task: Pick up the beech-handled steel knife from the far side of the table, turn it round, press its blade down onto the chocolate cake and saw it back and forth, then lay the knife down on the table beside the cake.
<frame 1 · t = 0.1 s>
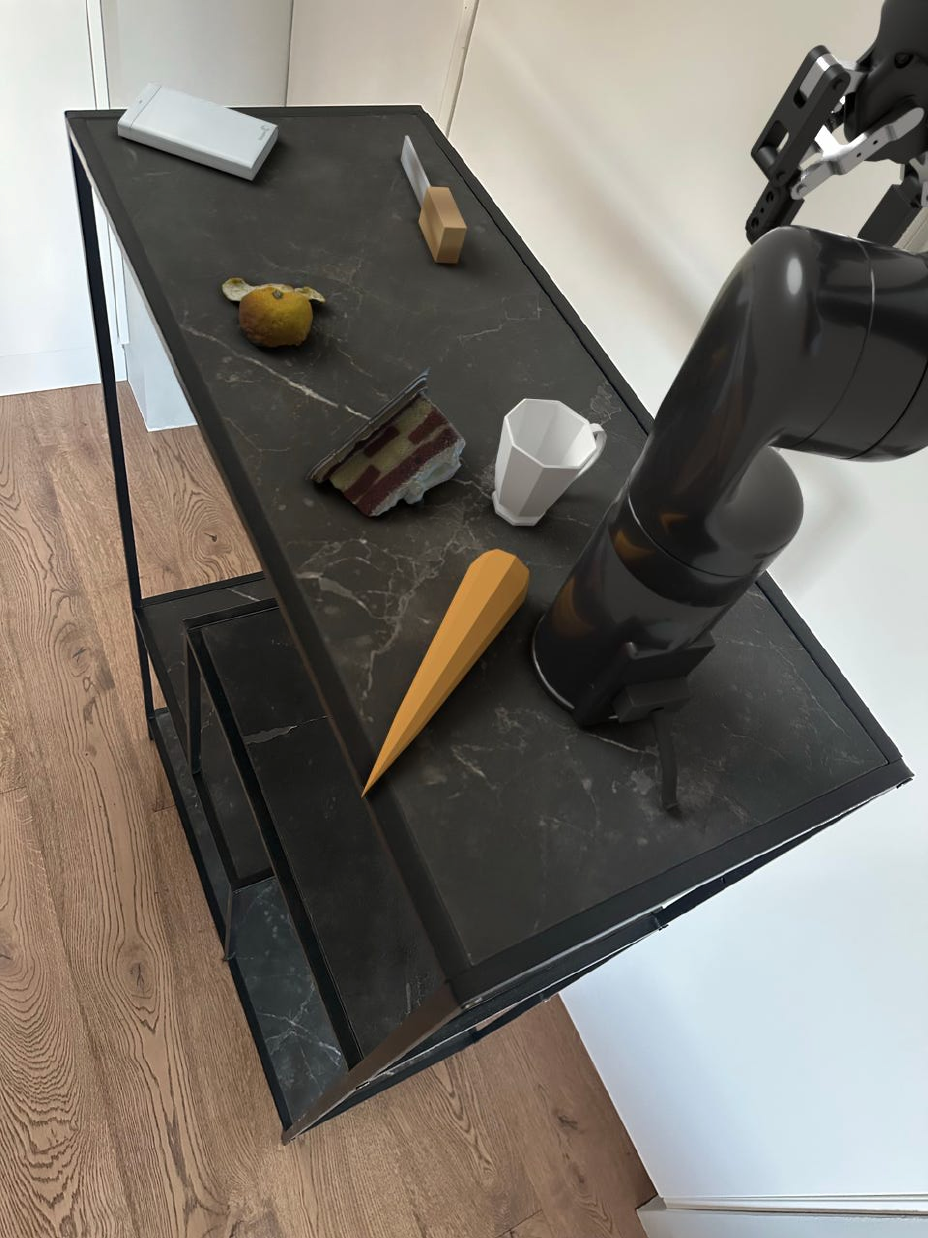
hand: (813, 248, 54), 24 cm above the table, tool pointing down, fingers open, 8 cm apart
hard drive: (267, 153, 85), point 1 cm above the table
fruit: (279, 316, 75), on the table
chocolate cake: (391, 478, 68), on the table
cup: (532, 501, 71), on the table
carrot: (426, 645, 57), point 3 cm above the table
knife: (437, 242, 85), on the table
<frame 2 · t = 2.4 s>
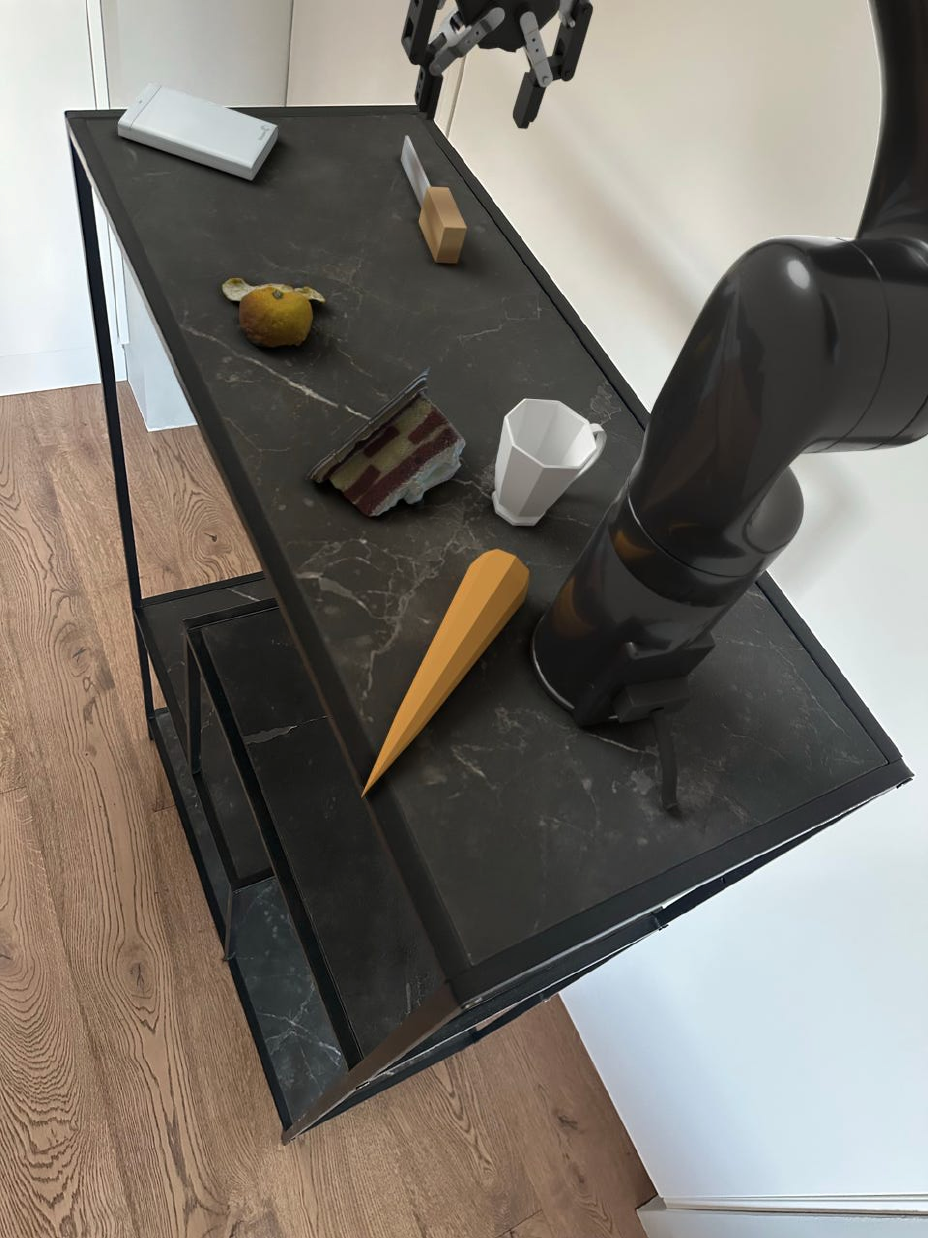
hand: (473, 119, 75), 12 cm above the table, tool pointing down, fingers open, 8 cm apart
nothing on the table moved.
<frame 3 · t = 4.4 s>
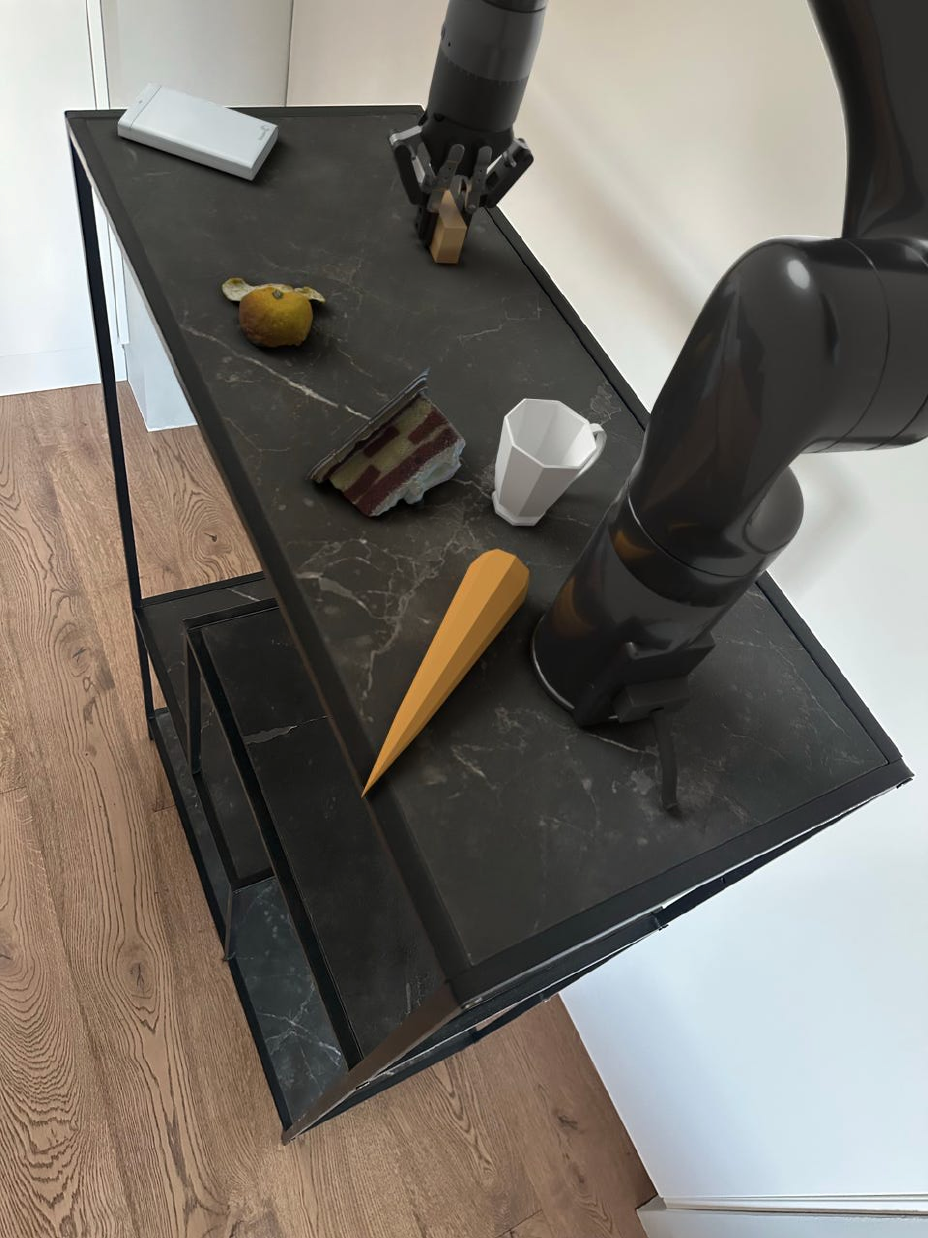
hand: (438, 240, 85), 0 cm above the table, tool pointing down, fingers closed on knife, 2 cm apart
knife: (437, 242, 85), on the table, touching gripper
everything else where it was.
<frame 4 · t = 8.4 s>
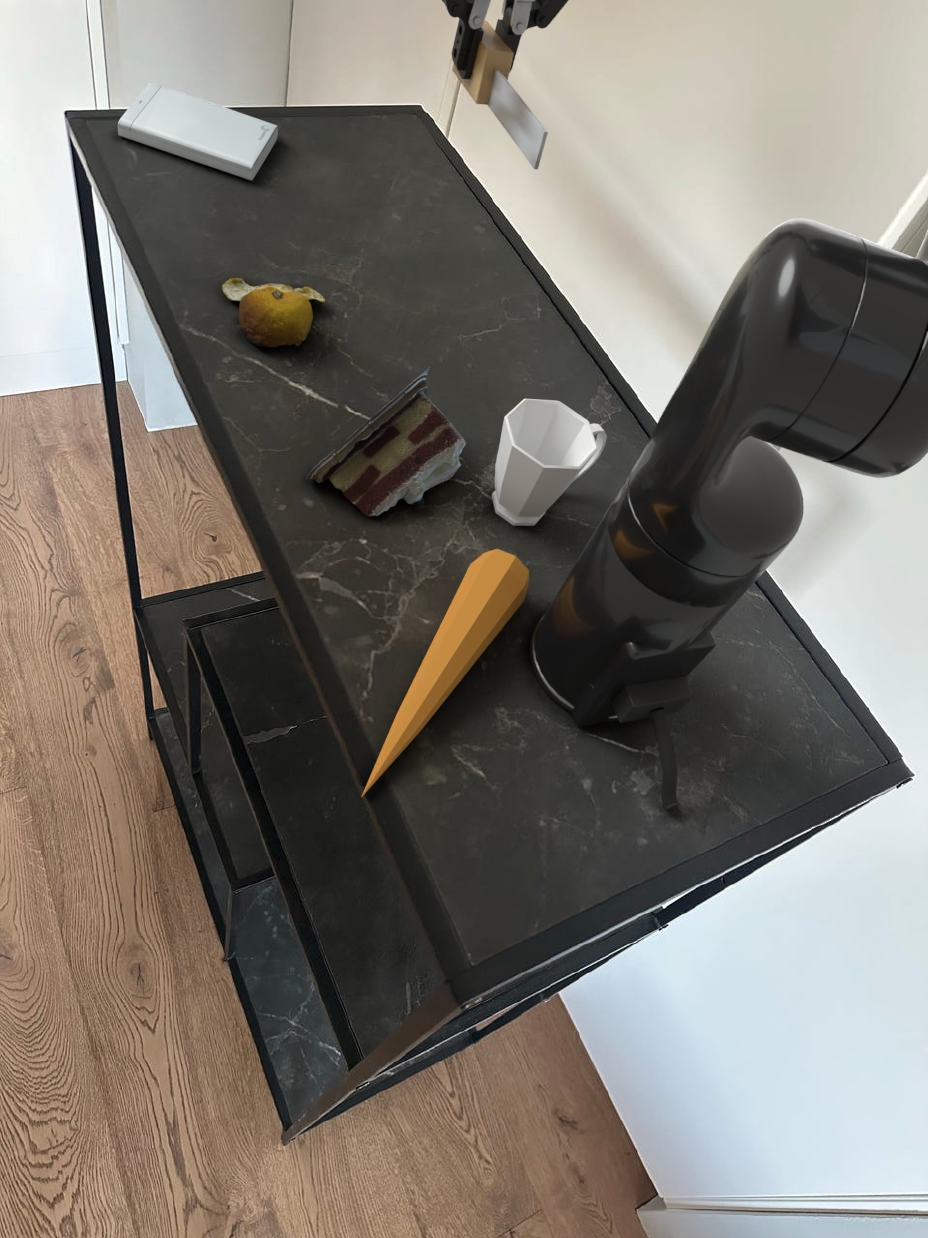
hand: (478, 74, 71), 17 cm above the table, tool pointing down, fingers closed on knife
knife: (476, 87, 71), point 16 cm above the table, tilted 7°, touching gripper
everything else where it was.
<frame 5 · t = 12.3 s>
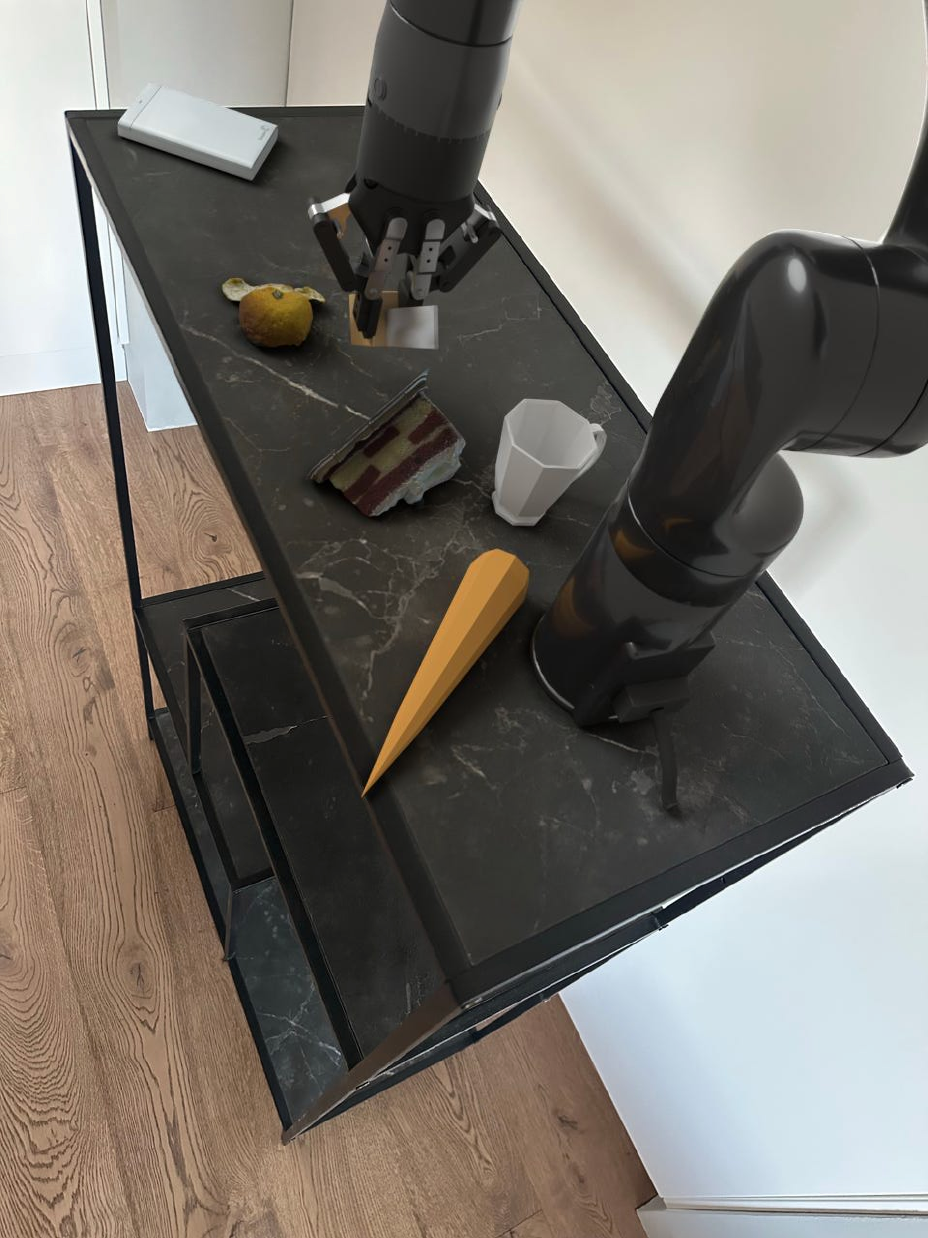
hand: (382, 330, 66), 7 cm above the table, tool pointing down, fingers closed on knife
knife: (375, 345, 68), point 5 cm above the table, tilted 41°, touching gripper
everything else where it was.
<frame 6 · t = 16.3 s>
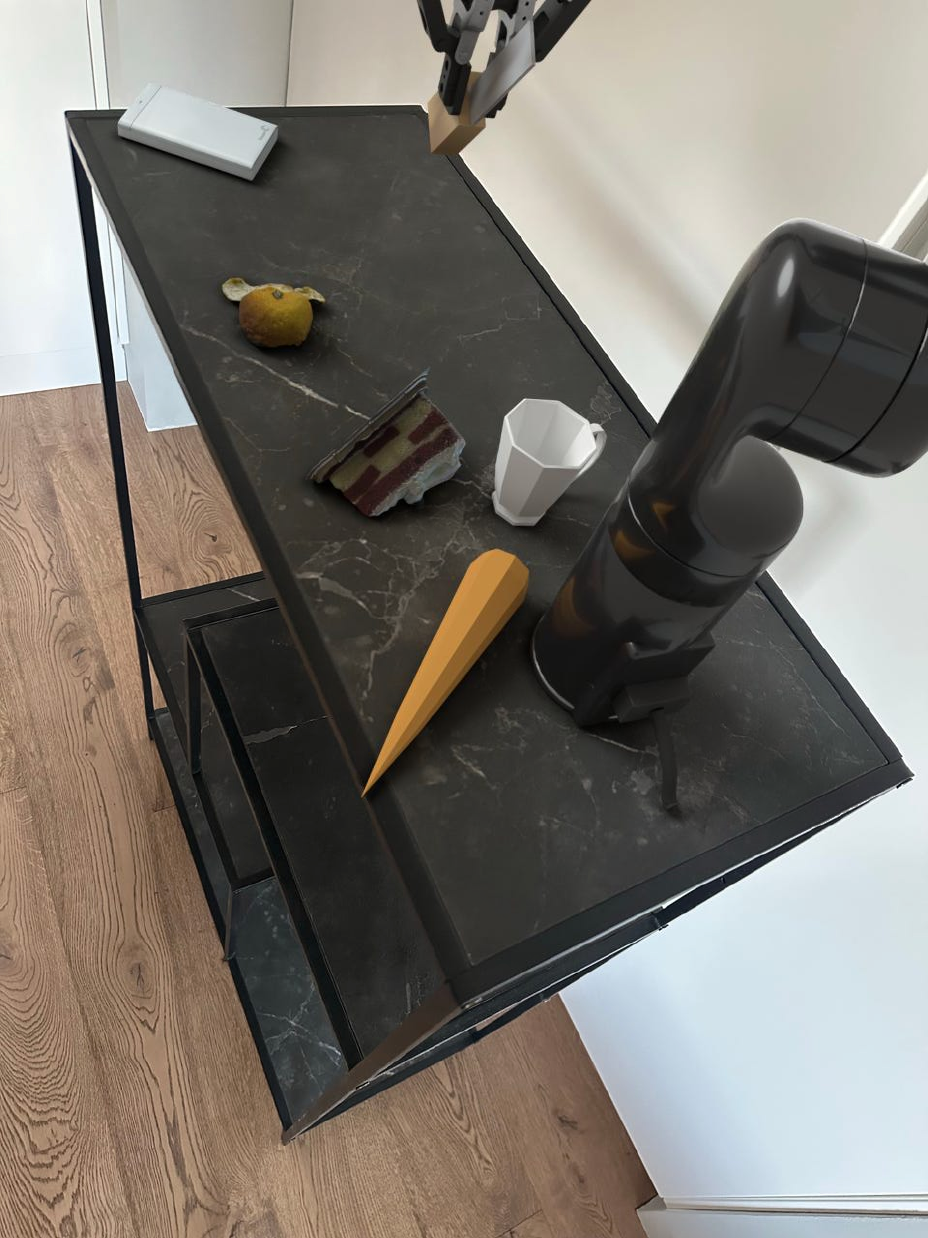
hand: (467, 109, 66), 17 cm above the table, tool pointing down, fingers closed on knife
knife: (457, 141, 69), point 15 cm above the table, tilted 51°, touching gripper
everything else where it was.
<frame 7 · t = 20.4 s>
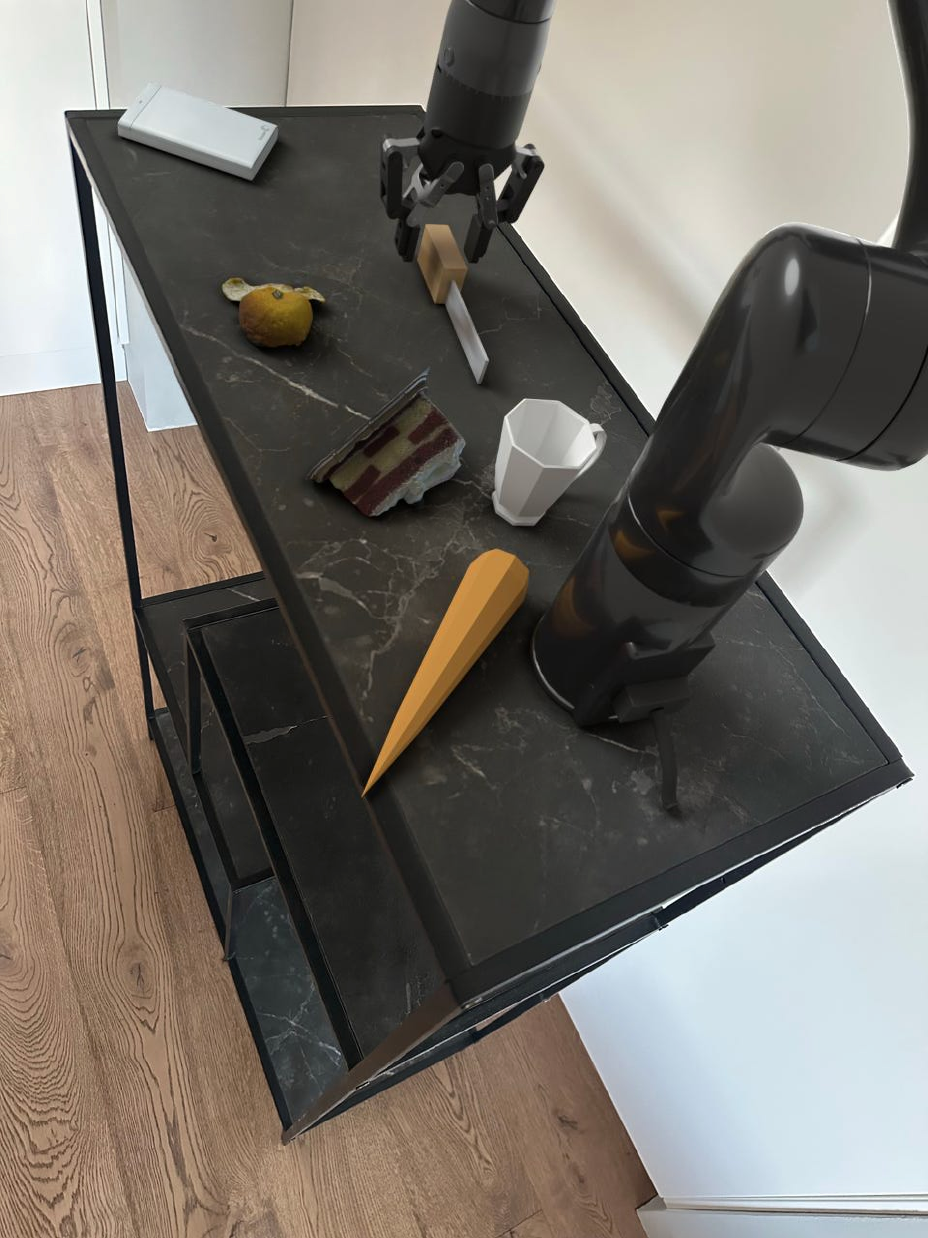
hand: (437, 256, 81), 2 cm above the table, tool pointing down, fingers open, 5 cm apart
knife: (436, 281, 82), on the table
everything else where it was.
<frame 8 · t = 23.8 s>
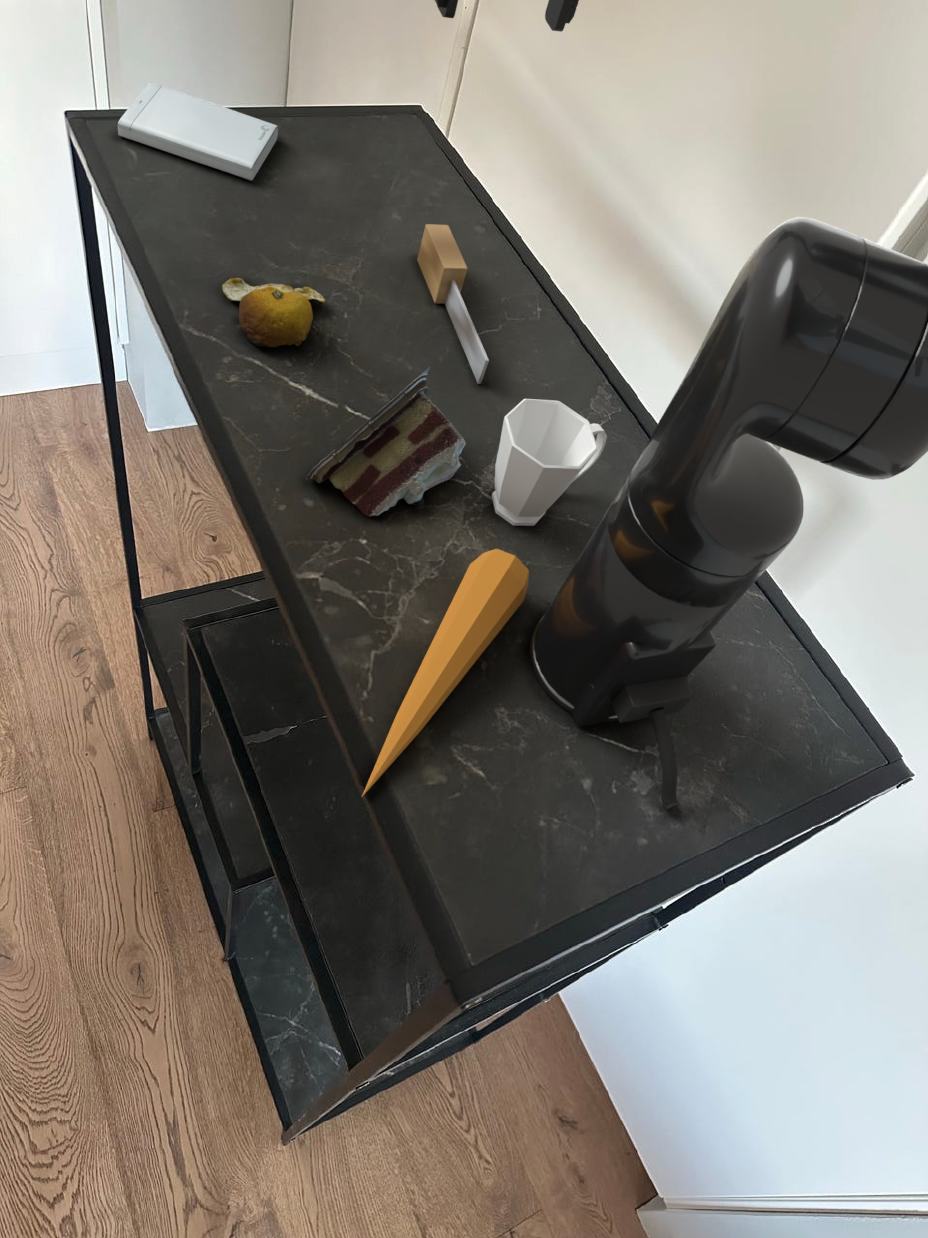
hand: (499, 18, 65), 22 cm above the table, tool pointing down, fingers open, 8 cm apart
nothing on the table moved.
at the end: knife inside the target area on the table beside the chocolate cake (0.7 cm from its centre), on the table; chocolate cake tilted 0°; chocolate cake moved 0.2 cm from its start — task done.
